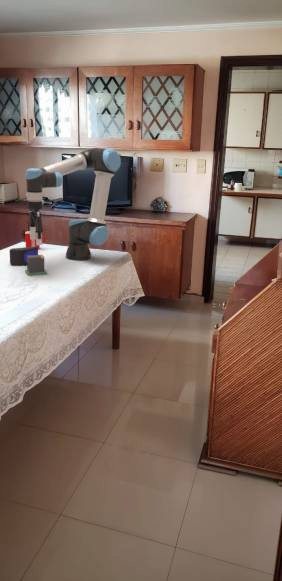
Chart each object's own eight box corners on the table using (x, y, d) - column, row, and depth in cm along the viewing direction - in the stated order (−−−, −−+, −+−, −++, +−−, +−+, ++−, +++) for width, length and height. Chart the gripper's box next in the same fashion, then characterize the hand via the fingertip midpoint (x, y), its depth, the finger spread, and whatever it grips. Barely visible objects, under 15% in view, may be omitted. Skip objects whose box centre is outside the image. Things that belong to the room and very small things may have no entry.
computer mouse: (12, 267, 246) (11, 250, 243) (9, 264, 249) (8, 248, 246) (40, 264, 254) (40, 247, 251) (37, 262, 258) (37, 246, 255)
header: (44, 270, 242) (43, 260, 240) (47, 274, 236) (47, 264, 234) (25, 272, 238) (24, 261, 236) (28, 275, 232) (27, 265, 230)
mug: (24, 250, 283) (24, 233, 279) (27, 247, 290) (27, 231, 287) (44, 251, 283) (43, 234, 280) (46, 248, 291) (46, 231, 288)
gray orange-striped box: (42, 269, 240) (41, 254, 238) (44, 271, 236) (44, 256, 233) (27, 270, 237) (26, 255, 234) (29, 272, 232) (28, 257, 230)
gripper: (22, 197, 234) (23, 237, 241) (32, 204, 213) (34, 248, 219) (36, 197, 237) (37, 236, 244) (48, 204, 216) (49, 247, 223)
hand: (36, 242), depth 232 cm, fingers open, 13 cm apart
